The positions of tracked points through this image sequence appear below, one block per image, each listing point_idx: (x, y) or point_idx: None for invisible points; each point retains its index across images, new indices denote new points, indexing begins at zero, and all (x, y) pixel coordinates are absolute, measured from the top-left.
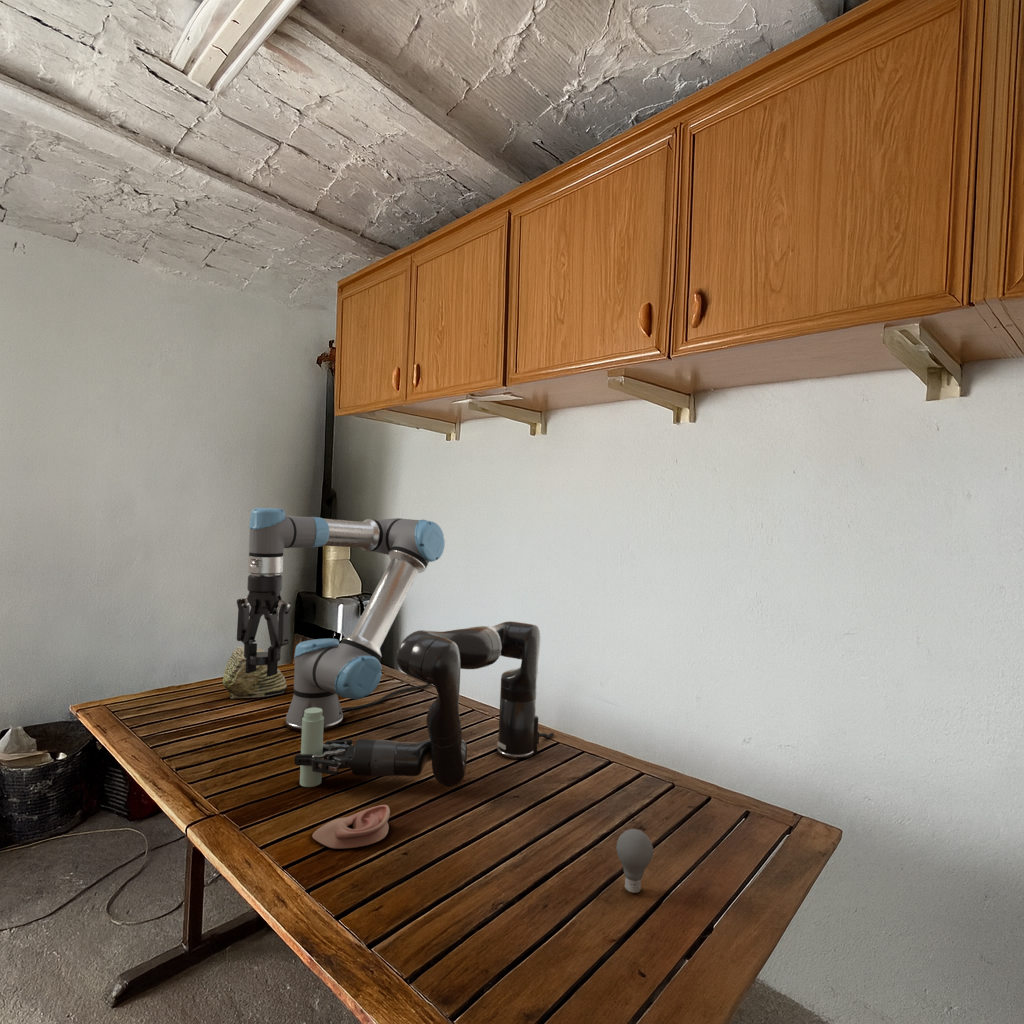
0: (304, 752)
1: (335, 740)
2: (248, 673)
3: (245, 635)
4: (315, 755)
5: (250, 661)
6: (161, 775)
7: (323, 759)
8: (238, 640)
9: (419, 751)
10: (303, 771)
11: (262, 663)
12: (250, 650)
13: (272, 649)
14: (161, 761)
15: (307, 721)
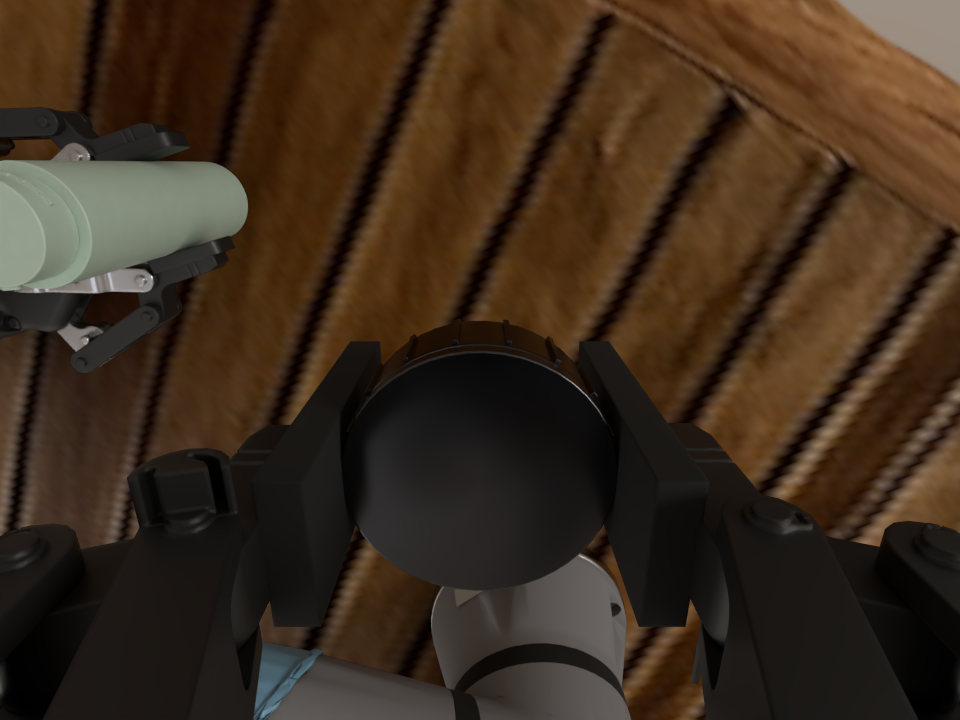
0: (136, 162)
1: (133, 340)
2: (580, 345)
3: (844, 613)
4: (68, 152)
5: (548, 347)
6: (756, 32)
7: (12, 133)
8: (922, 529)
9: None
10: (183, 162)
11: (393, 357)
12: (631, 464)
13: (262, 503)
14: (836, 142)
15: (5, 160)
